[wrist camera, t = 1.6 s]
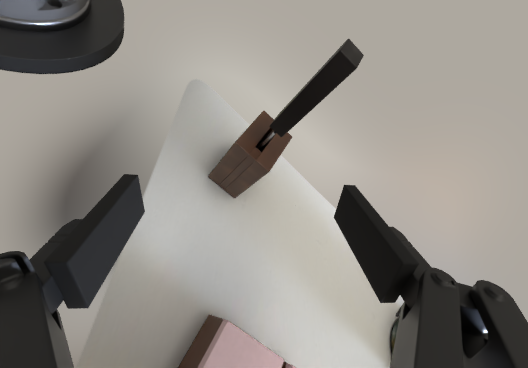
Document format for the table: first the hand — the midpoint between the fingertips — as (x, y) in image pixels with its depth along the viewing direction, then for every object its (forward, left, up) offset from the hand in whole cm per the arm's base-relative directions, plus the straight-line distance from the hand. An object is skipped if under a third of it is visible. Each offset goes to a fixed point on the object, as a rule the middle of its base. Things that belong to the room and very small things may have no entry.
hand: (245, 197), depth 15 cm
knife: (-9, +8, -17) cm, 21 cm away
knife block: (-9, +8, -17) cm, 21 cm away
